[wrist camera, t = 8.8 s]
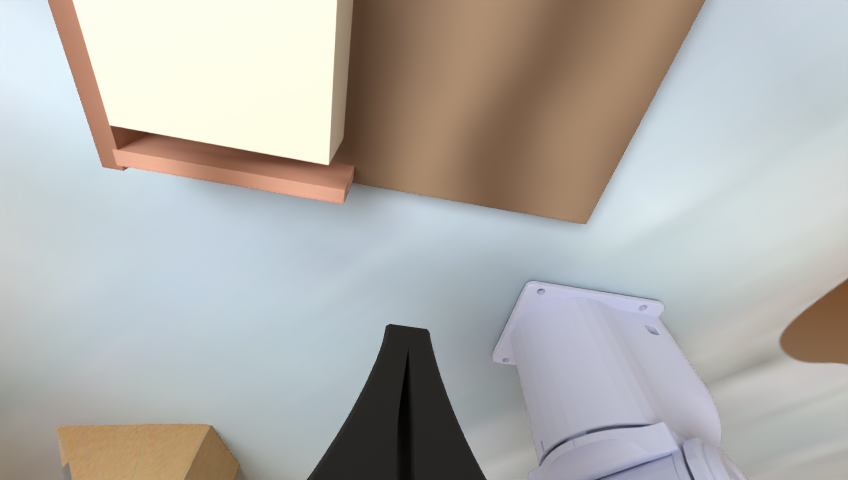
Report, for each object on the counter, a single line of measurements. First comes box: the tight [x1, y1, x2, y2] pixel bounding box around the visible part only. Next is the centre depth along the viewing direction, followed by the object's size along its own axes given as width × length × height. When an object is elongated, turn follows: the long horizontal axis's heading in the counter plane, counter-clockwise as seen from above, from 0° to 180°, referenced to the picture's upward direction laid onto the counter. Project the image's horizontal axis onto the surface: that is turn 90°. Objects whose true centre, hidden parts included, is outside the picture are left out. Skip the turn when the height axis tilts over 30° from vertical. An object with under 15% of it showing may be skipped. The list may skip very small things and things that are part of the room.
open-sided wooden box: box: [48, 0, 705, 224], centre depth 15 cm, size 22×12×4 cm, turn 79°
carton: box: [73, 0, 353, 165], centre depth 13 cm, size 8×7×3 cm
